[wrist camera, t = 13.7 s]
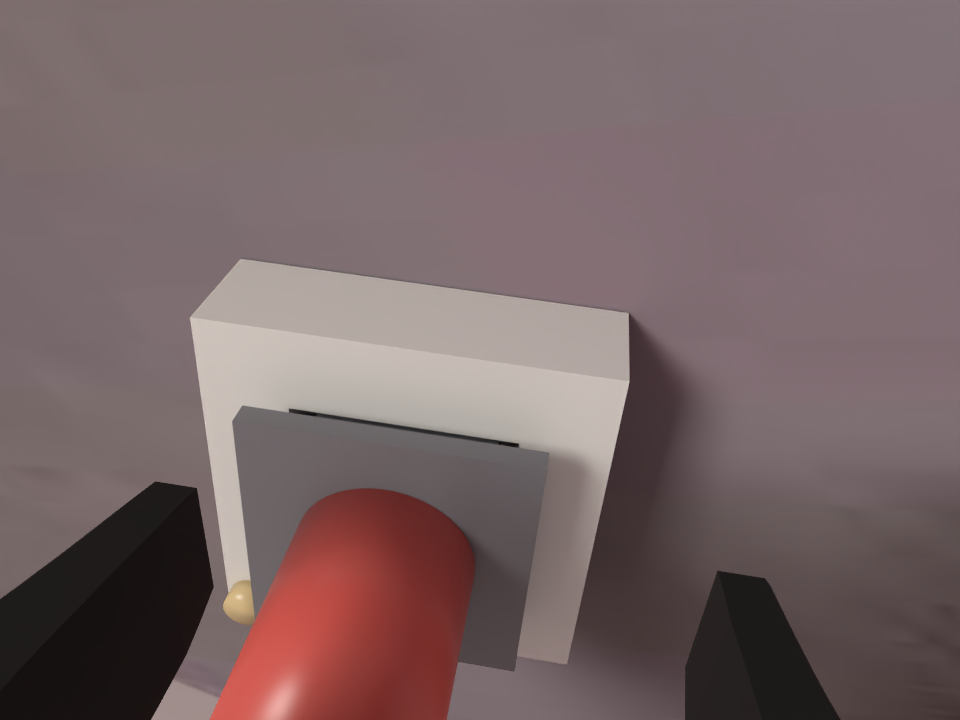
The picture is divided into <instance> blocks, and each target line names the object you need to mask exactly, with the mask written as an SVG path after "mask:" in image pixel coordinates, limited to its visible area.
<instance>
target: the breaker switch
mask: <svg viewBox="0 0 960 720" xmlns="http://www.w3.org/2000/svg"><path fill="white" fill-rule="evenodd" d="M232 426H233V434H234V443H235V452H236V460H237V469H238V477H239V486H240V495H241V503H242V512H243V521H244V529H245V538H246V546H247V555H248V564H249V572H250V581H251V589H252V598H253V607H254V615H255V619H256V617H257V615H258V613H259V611H260V608H261V606H262V604H263V602H264V600H265V598H266V595H267V593H268V591H269V589H270V587H271V584H272V582H273V580H274V578H275V576H276V573H277V571H278V569H279V567H280V565H281V563H282V560H283V558H284V556H285V554H286V552H287V549H288V547H289V545H290V543H291V541H292V538H293V536H294V534H295V532H296V530H297V528H298V525H299V523H300V521H301V519H302V518H303V516H304V514H305V513H306V512H307V511H308V510H309V508H310V507H311V506H313V505H314V504H315V503H316V502H318V501H319V500H321V499H323V498H325V497H326V496H329V495H331V494H334V493H337V492H341V491H345V490H351V489H361V488H373V489H384V490H389V491H395V492H398V493H402V494H406V495H409V496H411V497H414V498H417V499H419V500H421V501H423V502H425V503H427V504H429V505H431V506H433V507H434V508H436V509H437V510H439V511H441V512H442V513H443V514H444V515H446V516H447V517H448V518H450V519H451V520H452V521H453V522H454V523H455V524H456V525H457V526H458V527H459V529H460V530H461V531H462V532H463V534H464V535H465V537H466V538H467V540H468V542H469V543H470V546H471V548H472V551H473V554H474V558H475V568H476V569H475V577H474V582H473V587H472V592H471V597H470V602H469V607H468V612H467V618H466V623H465V628H464V633H463V638H462V643H461V648H460V653H459V658H458V662H463V663H469V664H475V665H480V666H486V667H492V668H497V669H503V670H509V671H514V670H515V664H516V658H517V652H518V646H519V640H520V634H521V627H522V621H523V615H524V609H525V603H526V597H527V591H528V585H529V579H530V573H531V567H532V561H533V554H534V548H535V542H536V536H537V530H538V524H539V518H540V512H541V506H542V500H543V494H544V488H545V482H546V475H547V469H548V460H549V452H542V451H536V450H529V449H523V448H516V447H510V446H503V445H502V441H499V440H492V439H486V438H479V437H473V436H466V435H460V434H453V433H446V432H440V431H433V430H427V429H420V428H414V427H407V426H401V425H394V424H388V423H381V422H375V421H368V420H362V419H355V418H349V417H342V416H336V415H329V414H323V413H317V415H316V416H308V415H302V414H295V413H289V412H282V411H276V410H269V409H263V408H256V407H250V406H243V405H242V407H241V408H240V410H239V411H238V413H237V414H236V416H235V418H234V419H233V421H232Z"/></svg>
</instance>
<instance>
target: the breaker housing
mask: <svg viewBox="0 0 960 720" xmlns="http://www.w3.org/2000/svg"><path fill="white" fill-rule="evenodd" d="M190 320H191V327H192V334H193V341H194V349H195V356H196V363H197V370H198V377H199V384H200V391H201V399H202V406H203V413H204V420H205V427H206V434H207V442H208V449H209V456H210V463H211V470H212V477H213V484H214V492H215V499H216V506H217V513H218V520H219V527H220V534H221V542H222V549H223V556H224V563H225V570H226V577H227V584H228V592H229V594H228V596H227V598H226V600H225V602H224V604H223V608H224V611H225V613H226V614H227V615H228V616H229V617H230V618H231V619H232V620H234V621H236V622H238V623H241V624H245V625H253V624H254V622H255V615H254V607H253V598H252V589H251V581H250V572H249V564H248V555H247V546H246V538H245V529H244V521H243V512H242V503H241V495H240V486H239V477H238V469H237V460H236V452H235V443H234V434H233V426H232V421H233V419H234V418H235V416H236V414H237V413H238V411H239V410H240V408H241V407H242V405H243V406H250V407H256V408H263V409H269V410H276V411H282V412H289V413H295V414H302V415H308V416H316V415H317V413H323V414H329V415H336V416H342V417H349V418H355V419H362V420H368V421H375V422H381V423H388V424H394V425H401V426H407V427H414V428H420V429H427V430H433V431H440V432H446V433H453V434H460V435H466V436H473V437H479V438H486V439H492V440H499V441H502V445H503V446H510V447H516V448H523V449H529V450H536V451H542V452H549V460H548V469H547V475H546V482H545V488H544V494H543V500H542V506H541V512H540V518H539V524H538V530H537V536H536V542H535V548H534V554H533V561H532V567H531V573H530V579H529V585H528V591H527V597H526V603H525V609H524V615H523V621H522V627H521V634H520V640H519V646H518V652H517V656H519V657H525V658H531V659H537V660H543V661H548V662H554V663H560V664H566V665H567V662H568V657H569V653H570V648H571V644H572V639H573V635H574V630H575V626H576V621H577V617H578V612H579V608H580V603H581V599H582V594H583V590H584V585H585V581H586V576H587V571H588V567H589V562H590V558H591V553H592V549H593V544H594V540H595V535H596V531H597V526H598V522H599V517H600V513H601V508H602V504H603V499H604V495H605V490H606V486H607V481H608V477H609V472H610V468H611V463H612V458H613V454H614V449H615V445H616V440H617V436H618V431H619V427H620V422H621V418H622V413H623V409H624V404H625V400H626V395H627V391H628V386H629V382H630V380H629V313H624V312H617V311H610V310H603V309H595V308H588V307H581V306H574V305H567V304H560V303H553V302H545V301H538V300H531V299H524V298H517V297H510V296H502V295H495V294H488V293H481V292H474V291H467V290H460V289H452V288H445V287H438V286H431V285H424V284H417V283H410V282H402V281H395V280H388V279H381V278H374V277H367V276H359V275H352V274H345V273H338V272H331V271H324V270H317V269H309V268H302V267H295V266H288V265H281V264H274V263H267V262H259V261H252V260H245V259H240V260H239V262H238V263H237V264H236V265H235V266H234V267H233V268H232V270H231V271H230V272H229V273H228V274H227V275H226V276H225V278H224V279H223V280H222V281H221V282H220V283H219V285H218V286H217V287H216V288H215V289H214V290H213V291H212V293H211V294H210V295H209V296H208V297H207V298H206V300H205V301H204V302H203V303H202V304H201V305H200V306H199V308H198V309H197V310H196V311H195V312H194V313H193V315H192V316H191V317H190Z"/></svg>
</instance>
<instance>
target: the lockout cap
mask: <svg viewBox="0 0 960 720" xmlns="http://www.w3.org/2000/svg"><path fill="white" fill-rule="evenodd" d="M475 569H476V568H475V558H474V554H473V551H472V548H471V546H470V543H469V542H468V540H467V538H466V537H465V535H464V534H463V532H462V531H461V530H460V529H459V527H458V526H457V525H456V524H455V523H454V522H453V521H452V520H451V519H450V518H448V517H447V516H446V515H444V514H443V513H442V512H441V511H439V510H437V509H436V508H434V507H433V506H431V505H429V504H427V503H425V502H423V501H421V500H419V499H417V498H414V497H411V496H409V495H406V494H402V493H398V492H395V491H389V490H384V489H373V488H361V489H351V490H345V491H341V492H337V493H334V494H331V495H329V496H326V497H325V498H323V499H321V500H319V501H318V502H316V503H315V504H314V505H313V506H311V507H310V508H309V510H308V511H307V512H306V513H305V514H304V516H303V518H302V519H301V521H300V523H299V525H298V528H297V530H296V532H295V534H294V536H293V538H292V541H291V543H290V545H289V547H288V549H287V552H286V554H285V556H284V558H283V560H282V563H281V565H280V567H279V569H278V571H277V573H276V576H275V578H274V580H273V582H272V584H271V587H270V589H269V591H268V593H267V595H266V598H265V600H264V602H263V604H262V606H261V608H260V611H259V613H258V615H257V617H256V619H255V622H254V624H253V626H252V628H251V630H250V633H249V635H248V637H247V639H246V641H245V643H244V646H243V648H242V650H241V652H240V654H239V657H238V659H237V661H236V663H235V665H234V668H233V670H232V672H231V674H230V676H229V678H228V681H227V683H226V685H225V687H224V689H223V692H222V694H221V696H220V698H219V700H218V703H217V705H216V707H215V709H214V711H213V713H212V716H211V718H210V720H447V714H448V709H449V704H450V699H451V694H452V689H453V684H454V679H455V674H456V669H457V663H458V658H459V653H460V648H461V643H462V638H463V633H464V628H465V623H466V618H467V612H468V607H469V602H470V597H471V592H472V587H473V582H474V577H475Z"/></svg>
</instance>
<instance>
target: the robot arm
mask: <svg viewBox="0 0 960 720" xmlns="http://www.w3.org/2000/svg"><path fill="white" fill-rule="evenodd" d="M213 587H214V586H213V580H212V574H211V568H210V563H209V557H208V551H207V545H206V539H205V534H204V528H203V522H202V516H201V510H200V505H199V499H198V493H197V488H193V487H187V486H180V485H174V484H168V483H161V482H154V483H153V484H152V485H150V486H149V487H148V488H146V489H145V490H144V491H142V492H141V493H140V494H138V495H137V496H136V497H134V498H133V499H132V500H130V501H129V502H128V503H126V504H125V505H124V506H122V507H121V508H120V509H119V510H117V511H116V512H115V513H113V514H112V515H111V516H110V517H108V518H107V519H106V520H104V521H103V522H102V523H101V524H99V525H98V526H97V527H95V528H94V529H93V530H92V531H90V532H89V533H88V534H86V535H85V536H84V537H83V538H81V539H80V540H79V541H77V542H76V543H75V544H73V545H72V546H71V547H70V548H68V549H67V550H66V551H64V552H63V553H62V554H60V555H59V556H58V557H56V558H55V559H54V560H52V561H51V562H50V563H48V564H47V565H46V566H44V567H43V568H42V569H40V570H39V571H38V572H36V573H35V574H34V575H32V576H31V577H30V578H28V579H27V580H26V581H24V582H23V583H22V584H20V585H19V586H18V587H16V588H15V589H14V590H12V591H11V592H9V593H8V594H7V595H5V596H4V597H2V598H1V599H0V720H151V718H152V717H153V715H154V713H155V711H156V710H157V708H158V706H159V704H160V702H161V700H162V699H163V697H164V695H165V693H166V691H167V689H168V687H169V686H170V684H171V682H172V680H173V679H174V677H175V675H176V673H177V671H178V669H179V667H180V666H181V664H182V662H183V660H184V658H185V656H186V654H187V652H188V649H189V647H190V645H191V642H192V640H193V638H194V635H195V633H196V630H197V628H198V626H199V623H200V621H201V618H202V615H203V613H204V610H205V608H206V605H207V603H208V600H209V598H210V595H211V592H212V590H213ZM685 720H840V718H839V717H838V715H837V713H836V711H835V710H834V708H833V706H832V705H831V703H830V701H829V699H828V697H827V696H826V694H825V692H824V690H823V688H822V686H821V685H820V683H819V681H818V679H817V677H816V675H815V674H814V672H813V670H812V668H811V666H810V664H809V662H808V660H807V658H806V656H805V655H804V653H803V651H802V649H801V647H800V645H799V643H798V641H797V639H796V637H795V635H794V633H793V631H792V629H791V627H790V625H789V623H788V621H787V619H786V617H785V615H784V613H783V611H782V609H781V607H780V605H779V603H778V600H777V598H776V596H775V594H774V592H773V590H772V588H771V586H770V585H769V583H768V582H767V581H766V579H765V578H759V577H753V576H746V575H740V574H734V573H728V572H721V571H717V574H716V577H715V580H714V583H713V586H712V589H711V592H710V595H709V598H708V601H707V604H706V607H705V610H704V613H703V616H702V619H701V622H700V625H699V628H698V631H697V634H696V637H695V640H694V643H693V646H692V649H691V652H690V655H689V658H688V661H687V664H686V667H685Z"/></svg>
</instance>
